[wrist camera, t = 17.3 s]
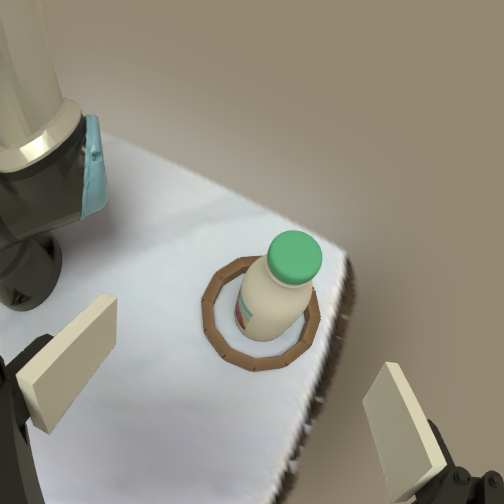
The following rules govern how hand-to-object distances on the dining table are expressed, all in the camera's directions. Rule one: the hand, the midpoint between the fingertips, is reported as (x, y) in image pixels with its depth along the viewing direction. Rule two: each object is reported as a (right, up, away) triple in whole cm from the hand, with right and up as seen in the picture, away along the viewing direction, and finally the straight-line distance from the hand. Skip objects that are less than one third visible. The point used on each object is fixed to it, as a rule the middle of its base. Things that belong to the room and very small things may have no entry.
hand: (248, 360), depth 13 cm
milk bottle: (+1, -4, +29) cm, 30 cm away
